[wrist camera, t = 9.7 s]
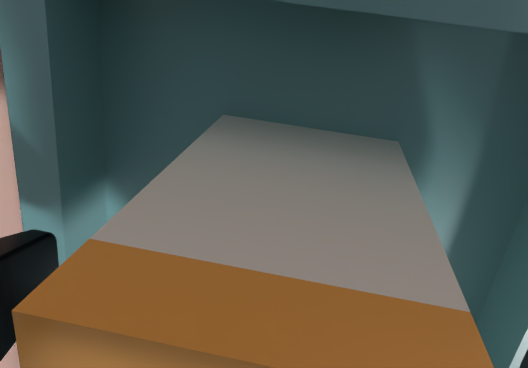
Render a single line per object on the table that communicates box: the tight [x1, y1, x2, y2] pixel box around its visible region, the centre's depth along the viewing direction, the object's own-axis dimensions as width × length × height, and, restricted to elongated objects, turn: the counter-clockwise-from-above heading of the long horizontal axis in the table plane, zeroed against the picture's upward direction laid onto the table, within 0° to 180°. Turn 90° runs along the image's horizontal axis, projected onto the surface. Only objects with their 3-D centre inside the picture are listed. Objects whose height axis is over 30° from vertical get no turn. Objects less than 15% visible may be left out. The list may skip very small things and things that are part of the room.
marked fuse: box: [12, 115, 494, 368], centre depth 8 cm, size 4×5×7 cm
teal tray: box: [0, 0, 528, 368], centre depth 10 cm, size 12×12×2 cm
